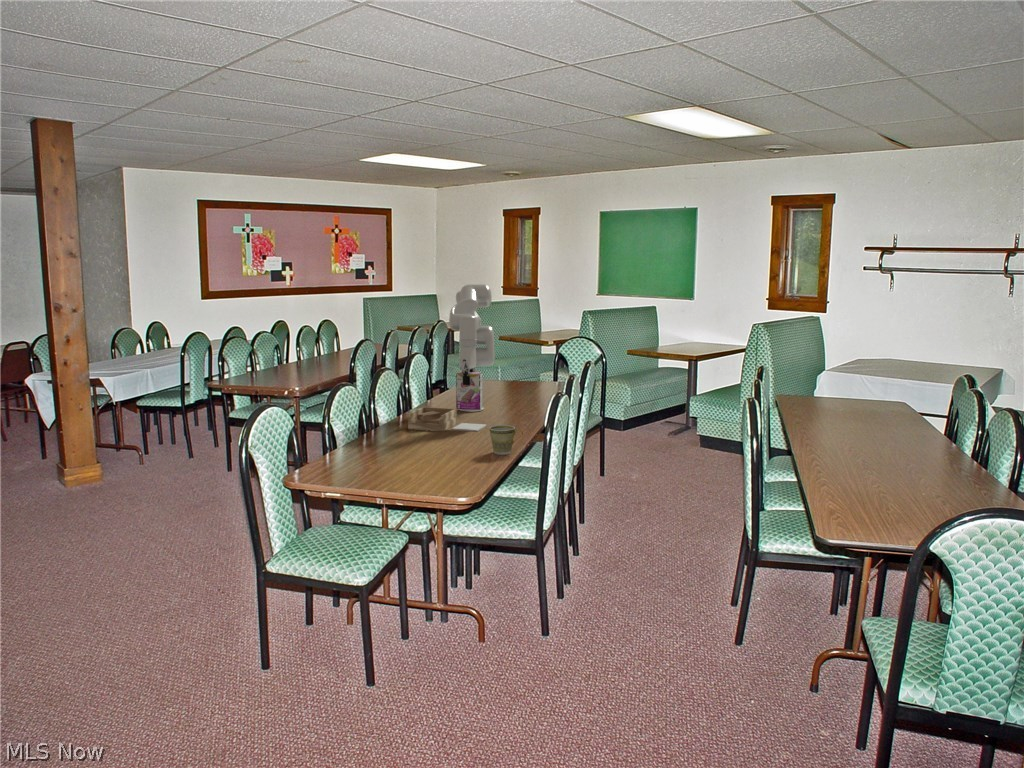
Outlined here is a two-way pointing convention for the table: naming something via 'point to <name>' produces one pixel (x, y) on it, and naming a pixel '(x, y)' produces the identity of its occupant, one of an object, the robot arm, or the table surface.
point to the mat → (469, 427)
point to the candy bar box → (469, 392)
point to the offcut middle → (430, 421)
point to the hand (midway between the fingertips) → (468, 383)
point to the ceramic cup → (503, 438)
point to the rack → (447, 421)
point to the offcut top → (428, 416)
